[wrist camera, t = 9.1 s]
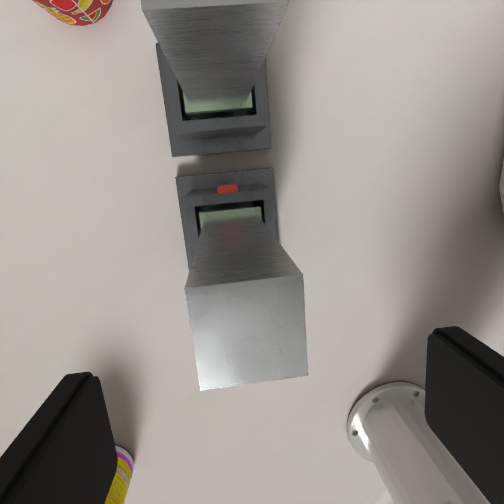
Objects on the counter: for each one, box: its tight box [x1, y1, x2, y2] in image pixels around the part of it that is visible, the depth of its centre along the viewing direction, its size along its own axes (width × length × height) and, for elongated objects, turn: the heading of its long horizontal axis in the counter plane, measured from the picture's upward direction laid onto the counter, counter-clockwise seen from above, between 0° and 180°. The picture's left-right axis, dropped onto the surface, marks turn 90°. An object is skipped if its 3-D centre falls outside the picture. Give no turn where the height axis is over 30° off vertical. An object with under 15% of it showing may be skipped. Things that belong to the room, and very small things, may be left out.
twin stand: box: [141, 0, 289, 157], centre depth 20 cm, size 10×10×25 cm
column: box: [185, 205, 308, 391], centre depth 20 cm, size 5×5×18 cm
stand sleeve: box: [175, 168, 278, 271], centre depth 31 cm, size 10×10×9 cm
